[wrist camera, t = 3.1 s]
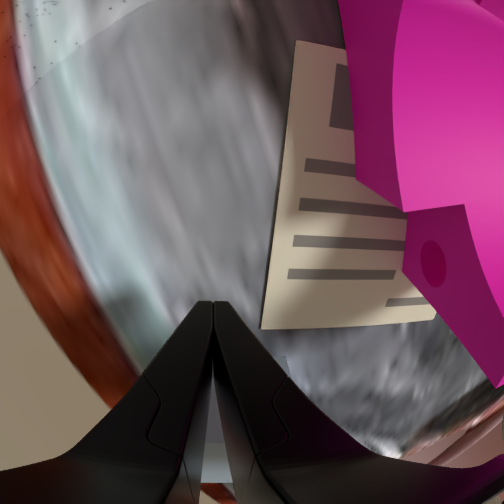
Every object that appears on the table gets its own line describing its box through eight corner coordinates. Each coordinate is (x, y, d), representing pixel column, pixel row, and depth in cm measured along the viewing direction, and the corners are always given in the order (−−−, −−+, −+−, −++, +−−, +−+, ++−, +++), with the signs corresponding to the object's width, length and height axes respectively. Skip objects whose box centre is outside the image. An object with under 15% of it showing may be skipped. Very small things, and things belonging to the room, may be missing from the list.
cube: (272, 409, 18) (285, 478, 13) (190, 409, 17) (189, 482, 13) (285, 355, 15) (306, 437, 11) (185, 355, 15) (181, 442, 10)
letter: (432, 318, 16) (433, 319, 15) (260, 328, 14) (261, 329, 14) (493, 107, 10) (495, 107, 10) (295, 40, 9) (296, 39, 9)
